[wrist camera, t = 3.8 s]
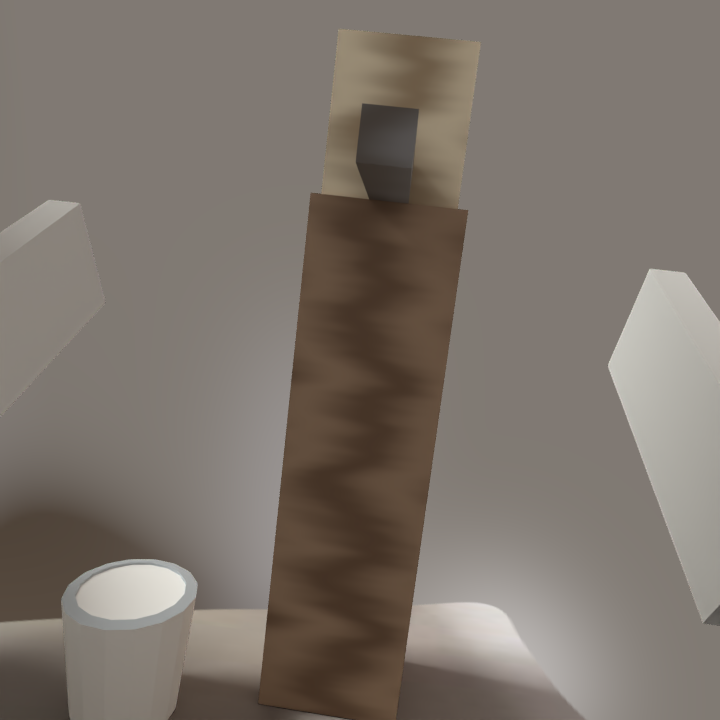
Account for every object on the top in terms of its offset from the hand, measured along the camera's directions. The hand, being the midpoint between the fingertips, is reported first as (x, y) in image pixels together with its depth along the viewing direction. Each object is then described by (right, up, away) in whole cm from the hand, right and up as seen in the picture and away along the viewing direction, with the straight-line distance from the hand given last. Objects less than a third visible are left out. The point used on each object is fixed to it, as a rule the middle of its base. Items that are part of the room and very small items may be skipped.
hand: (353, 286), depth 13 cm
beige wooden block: (+1, +6, +13) cm, 15 cm away
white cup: (-13, -21, +18) cm, 31 cm away
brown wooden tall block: (-2, -22, +22) cm, 31 cm away
